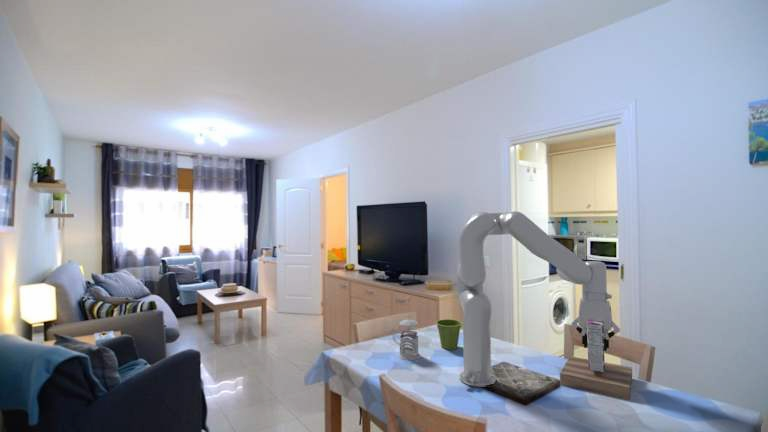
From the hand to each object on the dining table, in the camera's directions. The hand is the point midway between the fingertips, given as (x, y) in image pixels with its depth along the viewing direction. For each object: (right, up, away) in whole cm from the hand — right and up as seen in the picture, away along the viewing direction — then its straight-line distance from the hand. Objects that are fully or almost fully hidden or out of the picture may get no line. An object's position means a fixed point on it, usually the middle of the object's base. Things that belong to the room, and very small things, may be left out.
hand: (595, 347), depth 131 cm
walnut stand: (0, -12, 0) cm, 12 cm away
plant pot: (-45, -14, +38) cm, 60 cm away
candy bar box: (0, -7, 0) cm, 7 cm away
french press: (-65, -13, +28) cm, 71 cm away
